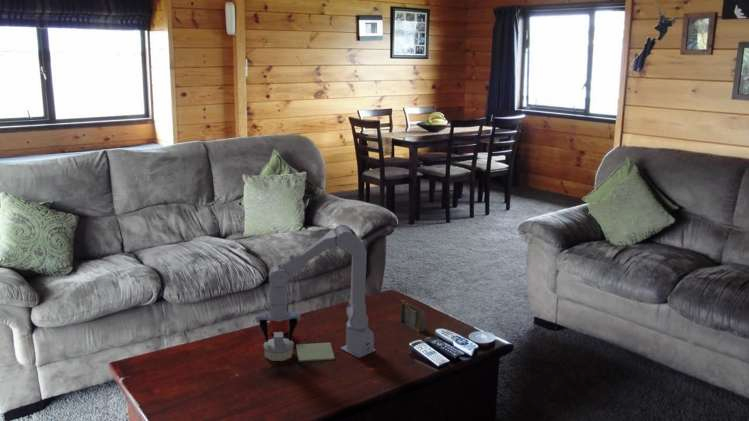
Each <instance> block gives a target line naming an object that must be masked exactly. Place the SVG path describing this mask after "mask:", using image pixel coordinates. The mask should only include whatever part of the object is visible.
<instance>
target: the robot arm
mask: <svg viewBox="0 0 749 421" xmlns="http://www.w3.org/2000/svg"><path fill="white" fill-rule="evenodd" d="M338 249H340V250H342V251H344V252H347V253H349V254H350V255H351V270H350V271H351V273H350V298H349V300H348V305H347V307H346V311H345V313H346V314H345V315H346V316H347V318H348V320H347V322H346V328H345V331H346V332H345V334H346V335H345V343H346V344H345V345H343V346H340V350H342V351H344V352H346V353H349V354H350V355H353V356H354V357H356V358H358V359H359V358H362V357H365V356H367V355H370V354H372V353H374V352H375V351H376V349H375V346H374V345H375V334H374V332H373V331H372V330H371V329H370V328H369V326H368V325H369V316H368V315H367V307H366V280H367V277H366V276H367V253H368V252H367V248H366V247H365V245H364V244H363V242H362V241H361V239H360V238H359V237H358V235H357V233H356V232H355V231H354V229H352V228H351V227H349V226H348V225H346V224H339V225H337V226H336V227H334V228H333V229H331V230H329V231H327V233H325V234H324V235H323V236H322V237H321V238H319V239H318V240H316V242H315V243H313V244H312V245H310V246H309V247H308V248H307V249H305V250H304V251H302V252H301V253H300V252H295V253H294V254H293V253H291V254H289V255H288V258H287V259H285V260H284V261H283V262H281V263H280V262H279V263H278V264H277V266H276V265H275V266H273V267H271V268H270V269H269V271H268V274H267V275H268V278H269V290H268V293H269V294H268V295H269V296H268V299H269V305H268V306H269V312H266V313H261V314H255V315H256V316H255V319H256V321H255V323H259V327H260V329H261V330H262V333H263V335H264V338H265V342H268V340H269V337H268V336H269V334H268V322H270V321H282V320H288V339H289V341H292V337H293V334H294V332H295V329H296V327H297V325H298V321H301V313H300V312H293V311H288V312H287V304H288V298H287V297H288V295H287V294H288V289H287V284H288V281H289V279H291V278H293V277H294V276H296V275H298V273H300V272H301V271H303V270H304V269H305V268H307V266H308V265H307V264H308V262H309V261H311V260H312V259H314V258H316V257H317V256H319V255H321V254H322V253H323V252H325V251H327V250H331V251H337V250H338Z"/></svg>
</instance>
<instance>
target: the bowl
mask: <svg viewBox="0 0 749 421" xmlns="http://www.w3.org/2000/svg"><path fill="white" fill-rule="evenodd" d="M293 353H294V348H293V349H291V350H290V351H288V352H284V353H271V352H268V351H266V350H265V349H264V358H266V359H268V360H270V361H271V362H272V361H273V362H274V361H275V362H276V361H280V362H283V361H286V360H289V359H291V358H292V356H293Z"/></svg>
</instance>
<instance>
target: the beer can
mask: <svg viewBox="0 0 749 421" xmlns="http://www.w3.org/2000/svg"><path fill="white" fill-rule="evenodd" d="M287 312H289V304H288V303H287ZM269 329H270V330H269V332H270V333H271V334H272V335H273V336H274V332H283V336H285V335H287V333H289V320H282V321H269Z"/></svg>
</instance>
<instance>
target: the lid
mask: <svg viewBox="0 0 749 421" xmlns="http://www.w3.org/2000/svg"><path fill="white" fill-rule="evenodd" d="M294 343H295V342H294V341H293V340H291V341H289V338H285V337H284V335H283V332H274V335H273V338H271V339H268V342H266V341H265V342H264V343H263V349H264V351H265V350H266V351H268V352H271V353H284V352H288V351H290V350H291V349H293V350H294V346H295V344H294Z"/></svg>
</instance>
